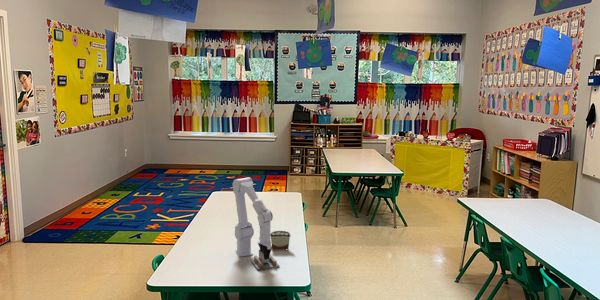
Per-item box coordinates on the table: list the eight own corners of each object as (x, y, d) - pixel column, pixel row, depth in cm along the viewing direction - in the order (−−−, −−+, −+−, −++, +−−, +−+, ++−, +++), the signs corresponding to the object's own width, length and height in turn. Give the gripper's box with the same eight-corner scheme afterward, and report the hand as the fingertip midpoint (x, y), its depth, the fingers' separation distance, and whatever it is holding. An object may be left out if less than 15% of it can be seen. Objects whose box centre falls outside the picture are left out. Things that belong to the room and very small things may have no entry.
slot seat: (251, 262, 242) (251, 256, 242) (271, 258, 247) (271, 252, 246) (258, 270, 231) (257, 264, 231) (279, 267, 236) (279, 261, 236)
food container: (290, 246, 266) (290, 230, 264) (290, 250, 260) (290, 233, 258) (270, 246, 266) (270, 230, 264) (269, 250, 260) (269, 233, 258)
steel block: (259, 260, 240) (258, 249, 239) (266, 258, 242) (266, 248, 241) (261, 263, 236) (261, 252, 235) (269, 262, 238) (269, 251, 237)
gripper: (253, 229, 241) (253, 253, 244) (262, 238, 228) (262, 263, 230) (266, 228, 244) (266, 251, 246) (275, 236, 231) (275, 261, 233)
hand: (265, 257), depth 239 cm, fingers closed on steel block, 4 cm apart
